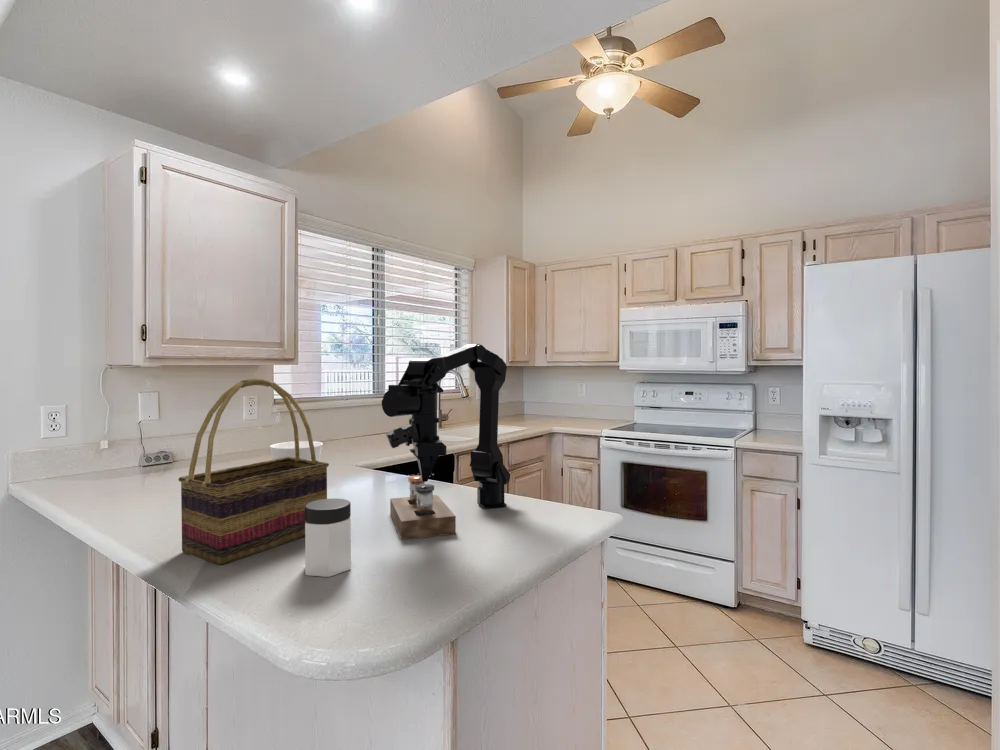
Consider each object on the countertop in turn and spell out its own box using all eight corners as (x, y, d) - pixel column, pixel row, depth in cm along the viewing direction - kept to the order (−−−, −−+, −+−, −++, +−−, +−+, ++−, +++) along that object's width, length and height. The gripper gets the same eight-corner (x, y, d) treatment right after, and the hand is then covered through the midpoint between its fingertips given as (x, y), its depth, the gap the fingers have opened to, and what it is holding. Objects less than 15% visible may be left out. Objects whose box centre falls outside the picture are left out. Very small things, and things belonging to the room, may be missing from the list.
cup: (258, 505, 137) (258, 446, 137) (296, 493, 150) (296, 439, 149) (297, 510, 132) (297, 449, 132) (333, 497, 145) (333, 442, 144)
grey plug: (432, 512, 119) (432, 483, 119) (436, 517, 115) (436, 487, 115) (413, 514, 117) (413, 484, 117) (416, 519, 113) (416, 489, 113)
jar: (337, 555, 100) (337, 495, 100) (361, 566, 95) (361, 502, 95) (294, 569, 93) (293, 505, 93) (317, 581, 88) (317, 513, 88)
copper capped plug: (424, 501, 128) (424, 474, 128) (427, 506, 124) (427, 478, 124) (407, 503, 127) (406, 476, 127) (409, 507, 123) (409, 479, 123)
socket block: (437, 509, 132) (437, 494, 132) (455, 533, 113) (455, 516, 113) (390, 514, 128) (390, 498, 128) (401, 539, 109) (401, 521, 109)
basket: (218, 568, 94) (216, 380, 94) (176, 553, 102) (174, 379, 101) (331, 528, 117) (330, 377, 117) (290, 519, 125) (289, 376, 124)
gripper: (384, 410, 122) (384, 475, 122) (393, 418, 104) (394, 494, 105) (429, 409, 126) (430, 472, 126) (446, 416, 108) (447, 489, 108)
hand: (424, 481), depth 116 cm, fingers closed
